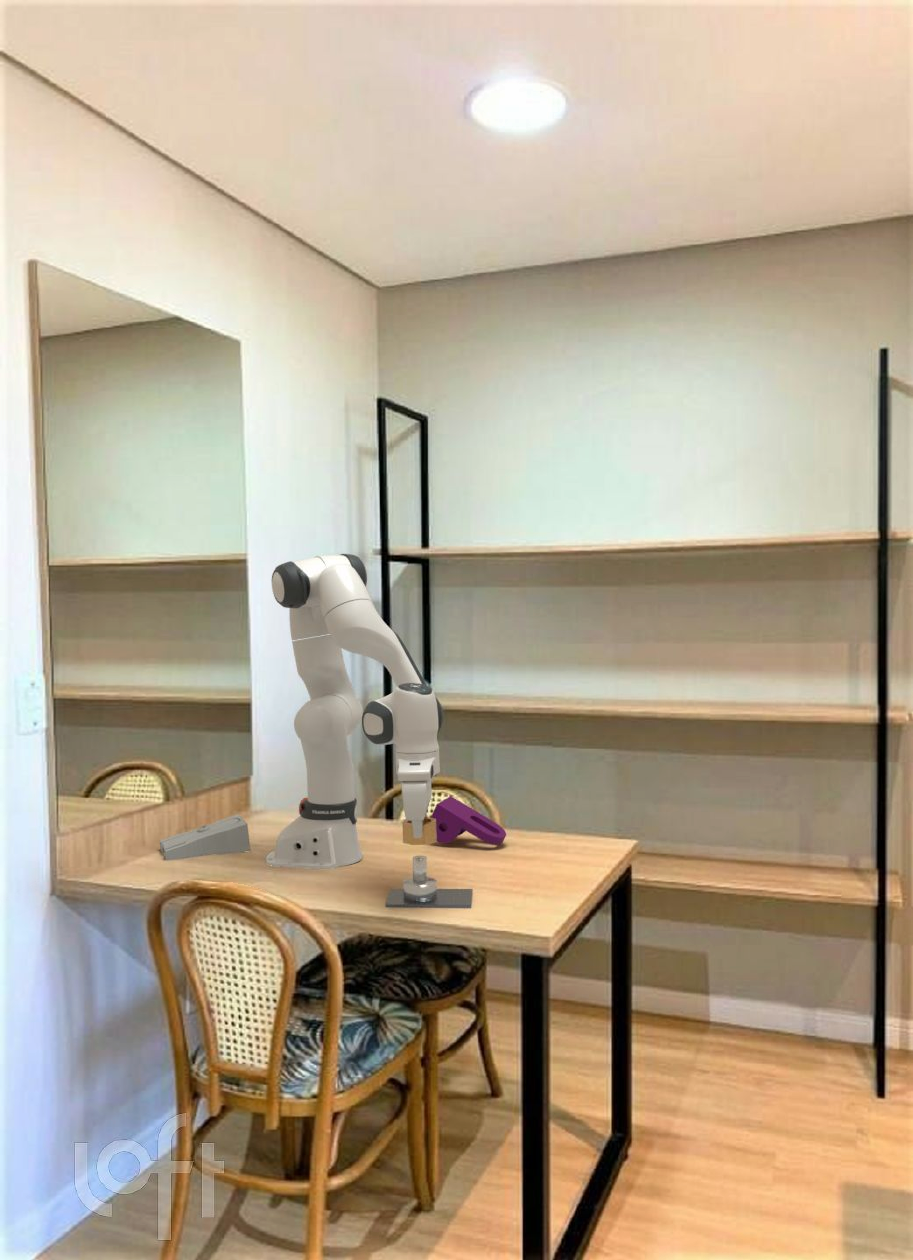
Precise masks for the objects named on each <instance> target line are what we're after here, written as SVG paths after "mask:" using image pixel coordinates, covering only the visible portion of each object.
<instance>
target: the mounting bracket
mask: <svg viewBox="0 0 913 1260" xmlns="http://www.w3.org/2000/svg"><path fill="white" fill-rule="evenodd" d="M430 818H434V819H436V829H437V839H436V843H437V842H438V843H440V844H449V843H451V842H452V841H454V840H455V839H457V838H458V837H459V836H461V835H462V834H464V833H465V832H467V833H469V834H471V835H472V836H474V837H475V838H477V839H478V840H480V841H483V842H484V843H487V844H490V845H494V846H500V845H502V844H503V842H504V840H505V839H506V836H507V832H506V831H505V829H504V828H503V827H502V826H501V825H499V824H498V823H497V822H495V821H493V820H491V819H490V818H488V817H486V816H485V815H484V814H482V813H480V812H478V811H476V809H473V808H472V807H471V806H469V805H467V804H465V803H463V802H462V801H460V800H458V799H457V798H455V797H454V796H451V795H450V796H448V797H447V798H445V799H443V800H441V801H439V802H438V803H437V804H436V805H435V808H434V810H433V811H432V814H431V816H430Z"/></svg>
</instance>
